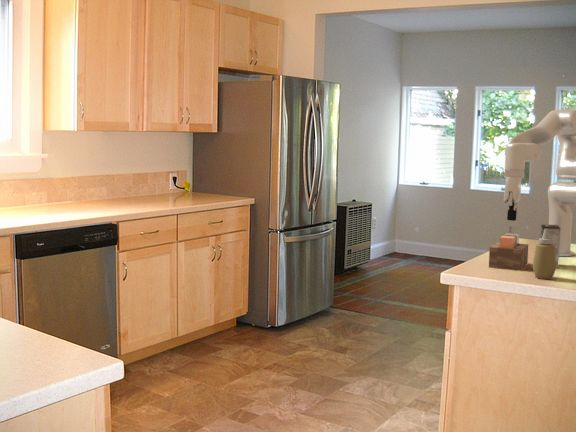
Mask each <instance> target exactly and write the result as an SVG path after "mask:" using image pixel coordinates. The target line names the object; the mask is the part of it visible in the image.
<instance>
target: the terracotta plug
mask: <svg viewBox="0 0 576 432" xmlns="http://www.w3.org/2000/svg"><path fill="white" fill-rule="evenodd" d="M515 239H516V237H513V236H504V235H501V236H500V237H499V242H500V248H510V249H514V248H515Z"/></svg>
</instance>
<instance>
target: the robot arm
mask: <svg viewBox="0 0 576 432" xmlns="http://www.w3.org/2000/svg"><path fill="white" fill-rule="evenodd" d="M556 136H557V139H558V141H559V146H560V147H559V153H558V158H557V163H556V169H555V173H556V176H557V178H558V179H560V180H561V179H562V180H568V181H556V182H552V183H550V185H549V186H548V189H547V198H548V208H549V209H548V225H558V226H559V227H560V242H559V257H573V256H574V255H575V252H574V251H573V250H572V251H571V248H572V247H571V245H572V228H573V224H572V223H573V212H572V210H571V209H572V208H570V205H571V206H576V182H571V181H576V109H570V108H569V109H553V110H551V111H550V112H548V113H547V114H546V115H545V116H544V117H543V119H541V120H540V121H539V123H537V125H535V126H534V127H531V128H528V129H527V130H525V131H522V132H520V133H518V134H517V135H515V136H514V137H512V138H511V140H510V141H509V142H508V143H507V144H506V147H505V149H504V156H505V158H504V159H505V160H504V176H503V177H504V178H505V184H504V192H503V193H504V194H503V203H507V218H506V219H507V221H514V222H515V221H517V209H518V207H517V206H518V203H519V202H520V201H521V193H522V179H524V178H525V167H526V162H527V163H531V162H532V163H534V162H536V161H539V159H540V158H541V157H542V153H543V151H542V147H541V145H545V144H548V143H550V142H551V141H552V140H553V139H554V138H555V137H556ZM569 180H570V181H569Z"/></svg>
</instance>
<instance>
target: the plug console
mask: <svg viewBox="0 0 576 432" xmlns="http://www.w3.org/2000/svg"><path fill="white" fill-rule="evenodd" d="M528 259H529V244H527V243H519V245H518V246H515V248H514V249H510V248H500V241H497V242H496V243H494V244H492V245H491V246H489V256H488V268H491V269H500V268H501V270H502V269H503V270H512V271H522V270H523V269H524V267H526V266H527V265H528V263H529V262H528Z"/></svg>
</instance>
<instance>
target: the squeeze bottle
mask: <svg viewBox="0 0 576 432" xmlns="http://www.w3.org/2000/svg"><path fill="white" fill-rule="evenodd" d="M552 241H553V240H552V239H550V238H549V232H548V229H544V233H543V236H542V238H540V237H539V238H538V243H537V244H536V245H535V249H534V250H535V251H534V254H533V255H534V256H533V263H532V270H533V274H534V276H535V278H537V279H540V280H550V279H553V278H554V275H555V272H556V269H557V268H556V259H555V246H554V245H552Z"/></svg>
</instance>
